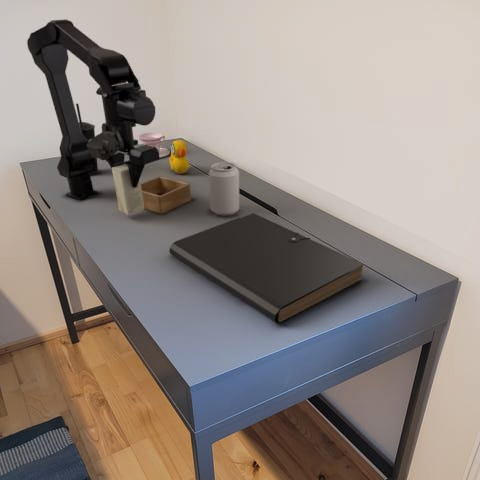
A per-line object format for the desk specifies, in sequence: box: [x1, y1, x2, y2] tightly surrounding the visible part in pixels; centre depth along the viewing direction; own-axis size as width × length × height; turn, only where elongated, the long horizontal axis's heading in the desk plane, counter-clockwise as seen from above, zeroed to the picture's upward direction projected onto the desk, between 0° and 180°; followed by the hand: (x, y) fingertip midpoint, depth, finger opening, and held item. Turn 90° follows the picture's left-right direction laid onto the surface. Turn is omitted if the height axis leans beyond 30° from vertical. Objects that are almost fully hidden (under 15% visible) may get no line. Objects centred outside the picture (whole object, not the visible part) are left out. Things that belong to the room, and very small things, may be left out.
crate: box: [141, 175, 192, 215], centre depth 129 cm, size 11×11×4 cm
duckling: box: [169, 139, 190, 175], centre depth 147 cm, size 11×5×10 cm, turn 22°
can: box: [208, 161, 240, 217], centre depth 121 cm, size 8×8×12 cm
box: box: [111, 164, 145, 216], centre depth 118 cm, size 5×4×11 cm
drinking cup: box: [75, 103, 99, 176], centre depth 144 cm, size 8×8×20 cm
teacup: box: [137, 132, 171, 158], centre depth 164 cm, size 12×12×6 cm
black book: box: [169, 212, 365, 324], centre depth 99 cm, size 33×4×24 cm
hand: (127, 185), depth 118 cm, fingers closed on box, 4 cm apart
